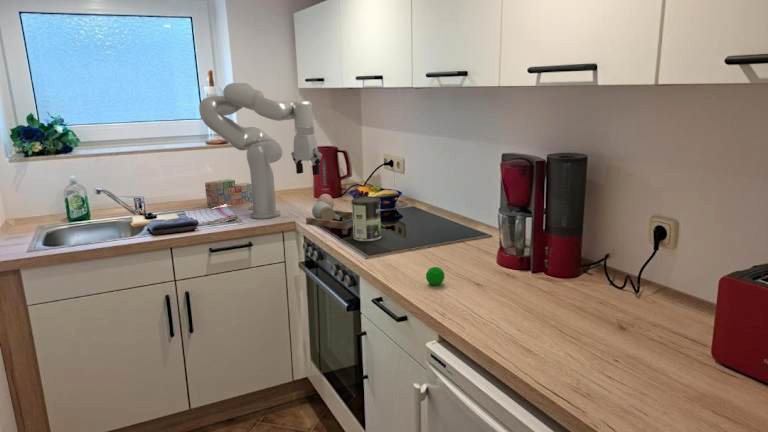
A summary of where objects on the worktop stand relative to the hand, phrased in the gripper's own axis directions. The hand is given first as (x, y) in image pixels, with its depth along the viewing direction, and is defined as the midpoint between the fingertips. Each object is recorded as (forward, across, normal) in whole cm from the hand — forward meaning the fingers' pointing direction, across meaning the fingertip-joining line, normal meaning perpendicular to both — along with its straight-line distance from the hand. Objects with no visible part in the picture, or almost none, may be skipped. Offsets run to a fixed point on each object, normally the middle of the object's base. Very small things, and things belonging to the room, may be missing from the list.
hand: (307, 173), depth 225 cm
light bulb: (+20, +8, +2) cm, 21 cm away
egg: (+19, -4, +12) cm, 23 cm away
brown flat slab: (+19, +14, +2) cm, 24 cm away
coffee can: (+20, +39, -9) cm, 45 cm away
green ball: (+21, +86, -35) cm, 95 cm away
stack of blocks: (+18, -56, 0) cm, 59 cm away
